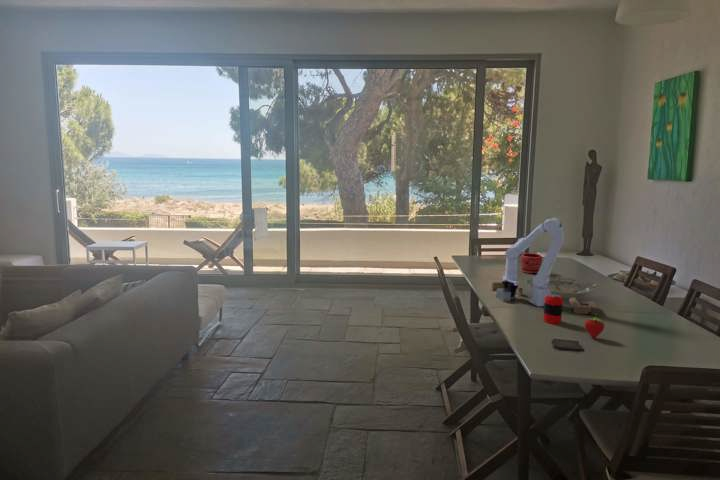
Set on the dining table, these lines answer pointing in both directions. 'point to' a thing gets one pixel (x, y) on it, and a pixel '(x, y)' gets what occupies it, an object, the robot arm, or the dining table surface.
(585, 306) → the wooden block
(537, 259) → the plant pot
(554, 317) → the soda can
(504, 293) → the bracket
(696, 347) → the dining table surface
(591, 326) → the strawberry
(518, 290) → the corner fence
